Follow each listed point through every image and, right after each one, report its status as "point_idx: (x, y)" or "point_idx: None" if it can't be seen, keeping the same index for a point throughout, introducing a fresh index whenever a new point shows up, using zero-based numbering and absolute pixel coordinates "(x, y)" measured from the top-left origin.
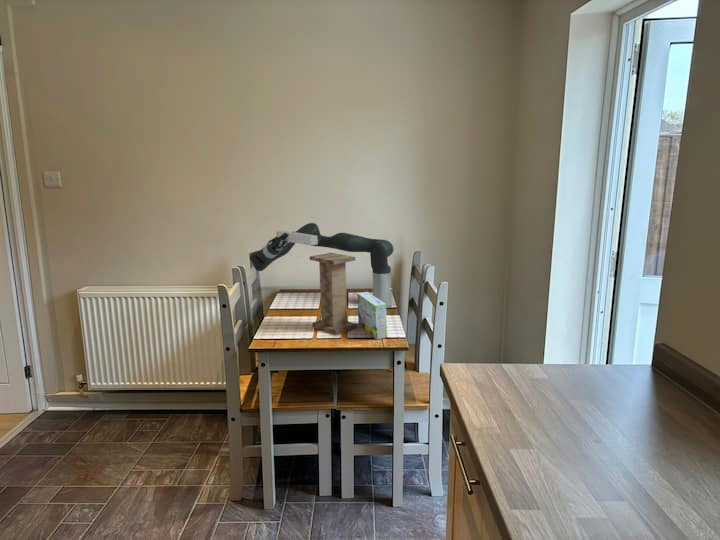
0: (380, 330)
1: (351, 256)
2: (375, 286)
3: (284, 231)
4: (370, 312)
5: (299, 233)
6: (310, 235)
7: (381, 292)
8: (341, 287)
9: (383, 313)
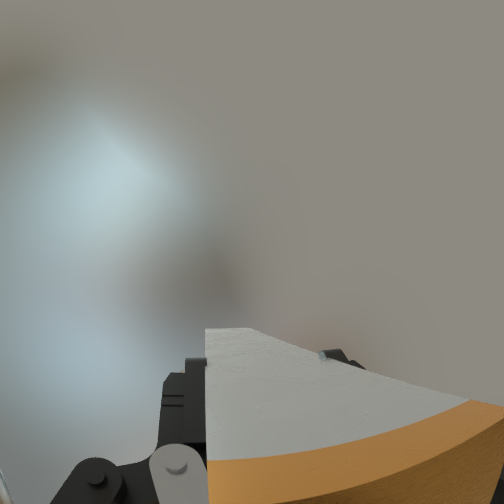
0: None
1: (182, 372)
2: (5, 498)
3: (288, 402)
4: None
5: (226, 341)
6: (227, 330)
7: (13, 501)
8: None
9: None
